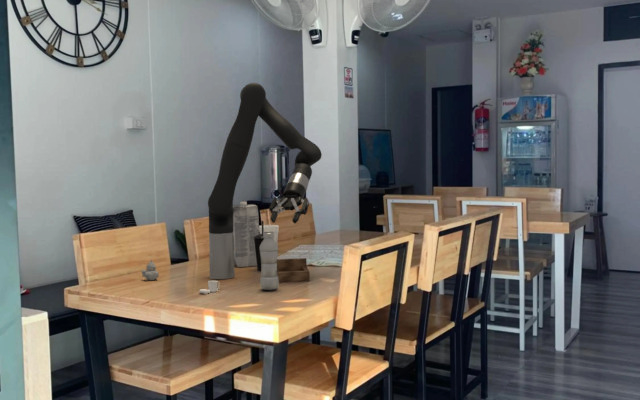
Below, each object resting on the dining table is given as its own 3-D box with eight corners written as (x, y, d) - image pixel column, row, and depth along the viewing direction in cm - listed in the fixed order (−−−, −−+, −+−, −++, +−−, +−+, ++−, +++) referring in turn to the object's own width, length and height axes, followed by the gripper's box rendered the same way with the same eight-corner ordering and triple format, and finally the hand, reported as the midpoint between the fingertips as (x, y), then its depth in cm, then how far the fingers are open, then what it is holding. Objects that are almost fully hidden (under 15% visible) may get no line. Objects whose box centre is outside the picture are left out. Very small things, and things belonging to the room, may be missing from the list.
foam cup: (283, 252, 305) (282, 225, 305) (271, 255, 298) (271, 227, 297) (267, 251, 310) (266, 224, 310) (255, 253, 303) (254, 226, 302)
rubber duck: (155, 281, 238) (154, 260, 237) (138, 281, 239) (138, 260, 239) (161, 278, 243) (160, 258, 243) (145, 278, 244) (144, 257, 244)
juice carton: (261, 266, 268) (259, 201, 266) (236, 268, 264) (234, 203, 262) (255, 263, 276) (253, 200, 274) (231, 264, 272) (229, 201, 270)
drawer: (271, 282, 232) (270, 264, 232) (269, 276, 244) (269, 259, 244) (309, 281, 234) (309, 263, 233) (306, 275, 246) (306, 258, 246)
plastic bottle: (269, 287, 224) (267, 230, 223) (283, 289, 220) (282, 231, 218) (255, 290, 219) (254, 232, 218) (270, 292, 215) (269, 233, 213)
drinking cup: (270, 272, 254) (269, 222, 252) (251, 271, 255) (250, 221, 254) (275, 268, 261) (274, 220, 260) (257, 268, 263) (256, 220, 261)
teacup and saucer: (199, 296, 213) (199, 284, 213) (197, 291, 221) (197, 280, 220) (226, 294, 215) (225, 282, 215) (223, 289, 223) (222, 278, 223)
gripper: (276, 181, 238) (261, 214, 229) (310, 181, 233) (297, 215, 223) (282, 194, 244) (269, 227, 234) (316, 194, 238) (304, 228, 228)
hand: (283, 221), depth 228 cm, fingers open, 8 cm apart
